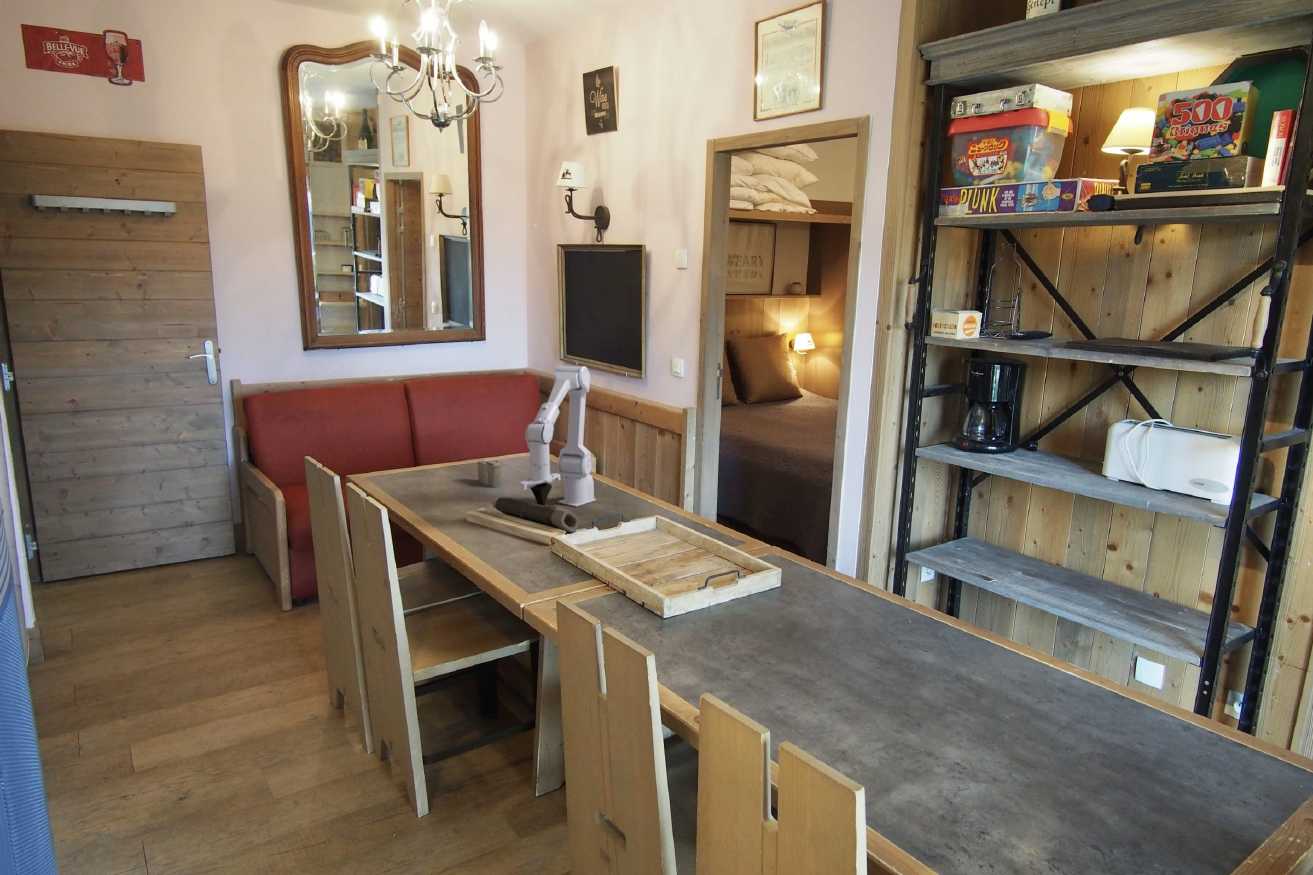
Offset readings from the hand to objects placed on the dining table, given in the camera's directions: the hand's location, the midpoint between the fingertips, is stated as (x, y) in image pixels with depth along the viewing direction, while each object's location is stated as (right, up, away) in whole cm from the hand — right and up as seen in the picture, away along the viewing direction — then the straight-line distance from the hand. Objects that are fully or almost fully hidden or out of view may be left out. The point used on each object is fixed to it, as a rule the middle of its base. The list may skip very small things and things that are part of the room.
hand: (541, 508), depth 241 cm
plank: (-7, -6, -7) cm, 11 cm away
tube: (0, -3, 0) cm, 3 cm away
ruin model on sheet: (-24, +4, +43) cm, 50 cm away
